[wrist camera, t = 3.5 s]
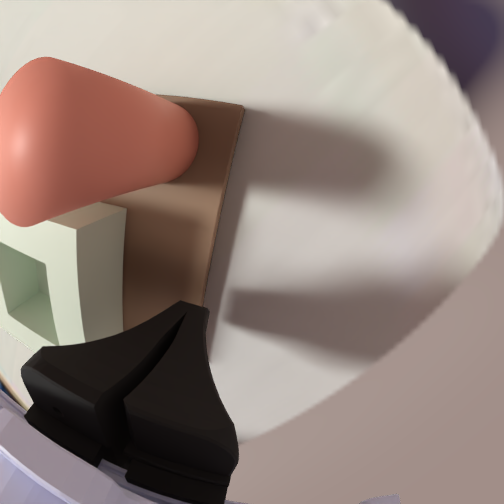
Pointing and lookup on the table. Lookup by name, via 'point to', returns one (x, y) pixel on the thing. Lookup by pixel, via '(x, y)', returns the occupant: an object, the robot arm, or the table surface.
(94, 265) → the block
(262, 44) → the table surface
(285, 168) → the table surface
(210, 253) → the board
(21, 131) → the dowel
